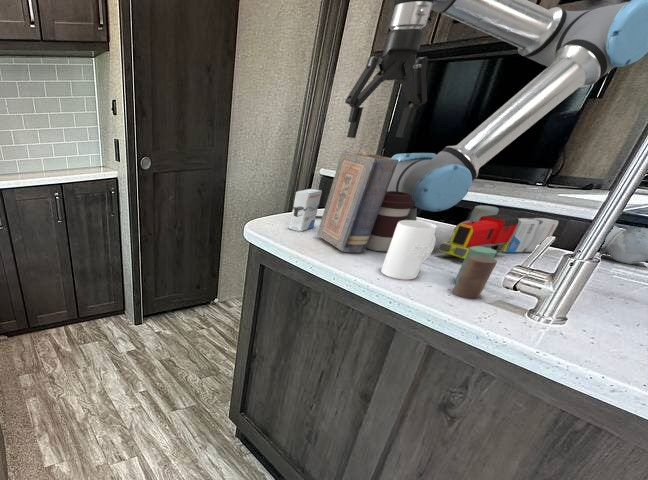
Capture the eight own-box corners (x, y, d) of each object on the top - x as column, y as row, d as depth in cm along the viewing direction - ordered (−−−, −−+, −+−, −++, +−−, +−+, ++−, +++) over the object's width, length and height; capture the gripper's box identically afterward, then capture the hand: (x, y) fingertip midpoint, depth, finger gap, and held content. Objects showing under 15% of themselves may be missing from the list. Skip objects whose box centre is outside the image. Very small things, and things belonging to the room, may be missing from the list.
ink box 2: (492, 248, 116) (526, 247, 117) (507, 253, 112) (543, 252, 113) (506, 217, 111) (542, 217, 113) (523, 221, 107) (560, 220, 109)
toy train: (504, 254, 110) (524, 217, 105) (459, 263, 104) (477, 224, 99) (479, 248, 116) (497, 212, 110) (434, 256, 109) (450, 218, 104)
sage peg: (453, 284, 93) (469, 250, 89) (454, 277, 96) (470, 244, 92) (479, 288, 91) (497, 254, 86) (479, 282, 94) (496, 248, 90)
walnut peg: (451, 295, 88) (468, 259, 83) (453, 288, 91) (469, 253, 87) (478, 300, 85) (497, 264, 81) (479, 293, 89) (497, 258, 84)
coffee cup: (367, 241, 122) (384, 188, 113) (402, 248, 116) (422, 193, 107) (354, 248, 116) (371, 193, 107) (390, 256, 110) (410, 198, 102)
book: (315, 236, 125) (342, 146, 111) (334, 236, 126) (364, 147, 111) (342, 254, 111) (378, 153, 97) (364, 254, 112) (402, 155, 98)
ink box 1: (301, 224, 138) (309, 188, 132) (314, 227, 135) (323, 190, 129) (287, 228, 134) (295, 191, 127) (301, 231, 131) (309, 193, 124)
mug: (437, 275, 98) (459, 225, 91) (400, 281, 94) (420, 230, 88) (409, 265, 104) (427, 217, 97) (373, 270, 101) (390, 221, 94)
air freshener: (480, 238, 124) (496, 204, 118) (498, 246, 117) (516, 210, 111) (445, 238, 124) (459, 204, 118) (461, 245, 117) (477, 210, 112)
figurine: (579, 258, 110) (651, 278, 100) (600, 225, 105) (680, 242, 94) (597, 250, 114) (669, 268, 103) (619, 218, 108) (698, 233, 97)
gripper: (364, 26, 86) (337, 138, 98) (468, 28, 88) (429, 138, 101) (346, 31, 92) (323, 136, 104) (444, 33, 95) (410, 136, 107)
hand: (375, 137), depth 103 cm, fingers open, 13 cm apart
